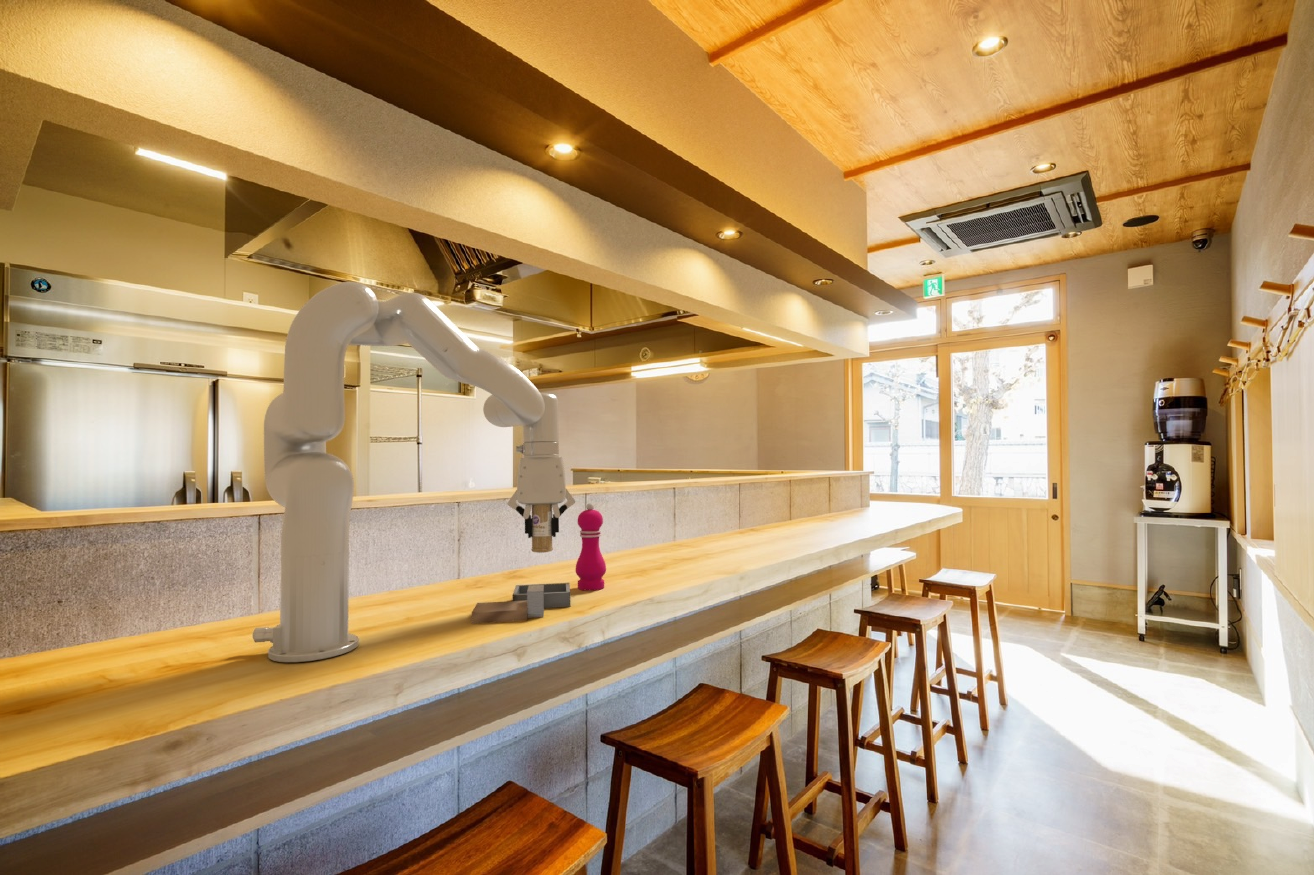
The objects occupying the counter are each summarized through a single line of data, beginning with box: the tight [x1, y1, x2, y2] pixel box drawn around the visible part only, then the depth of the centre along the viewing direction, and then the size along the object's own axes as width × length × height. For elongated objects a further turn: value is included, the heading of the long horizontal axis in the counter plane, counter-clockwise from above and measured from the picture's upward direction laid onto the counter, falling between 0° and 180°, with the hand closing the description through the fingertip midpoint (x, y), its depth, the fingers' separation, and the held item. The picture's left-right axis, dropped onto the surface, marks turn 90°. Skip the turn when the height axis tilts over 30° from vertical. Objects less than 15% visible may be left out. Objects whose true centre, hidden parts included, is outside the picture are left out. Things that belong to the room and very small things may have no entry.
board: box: [471, 600, 528, 625], centre depth 118 cm, size 10×8×2 cm
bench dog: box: [527, 584, 545, 619], centre depth 120 cm, size 3×6×5 cm, turn 9°
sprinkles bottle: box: [530, 504, 554, 554], centre depth 130 cm, size 5×5×14 cm
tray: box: [512, 582, 571, 609], centre depth 129 cm, size 12×11×3 cm
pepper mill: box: [574, 502, 607, 591], centre depth 144 cm, size 7×7×20 cm
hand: (542, 535), depth 130 cm, fingers closed on sprinkles bottle, 4 cm apart
